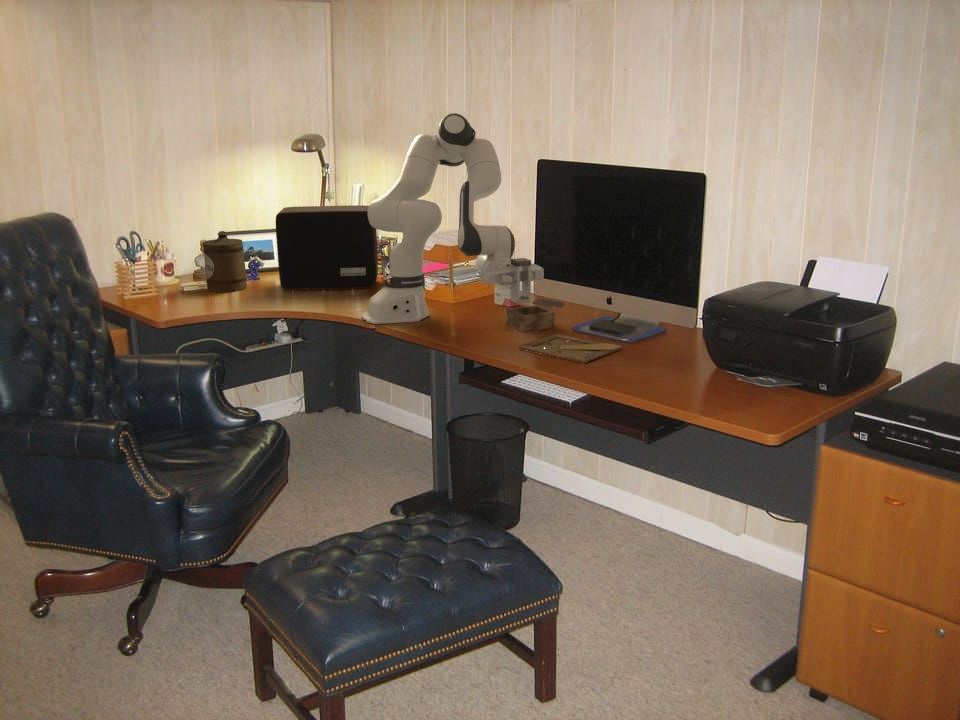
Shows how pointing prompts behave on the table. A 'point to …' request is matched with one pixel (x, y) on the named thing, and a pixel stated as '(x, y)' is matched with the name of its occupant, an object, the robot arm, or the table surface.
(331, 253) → the radio
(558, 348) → the picture frame
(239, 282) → the wooden container
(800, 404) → the table surface
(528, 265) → the grey lantern
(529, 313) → the box
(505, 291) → the ink cartridge box
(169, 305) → the table surface
